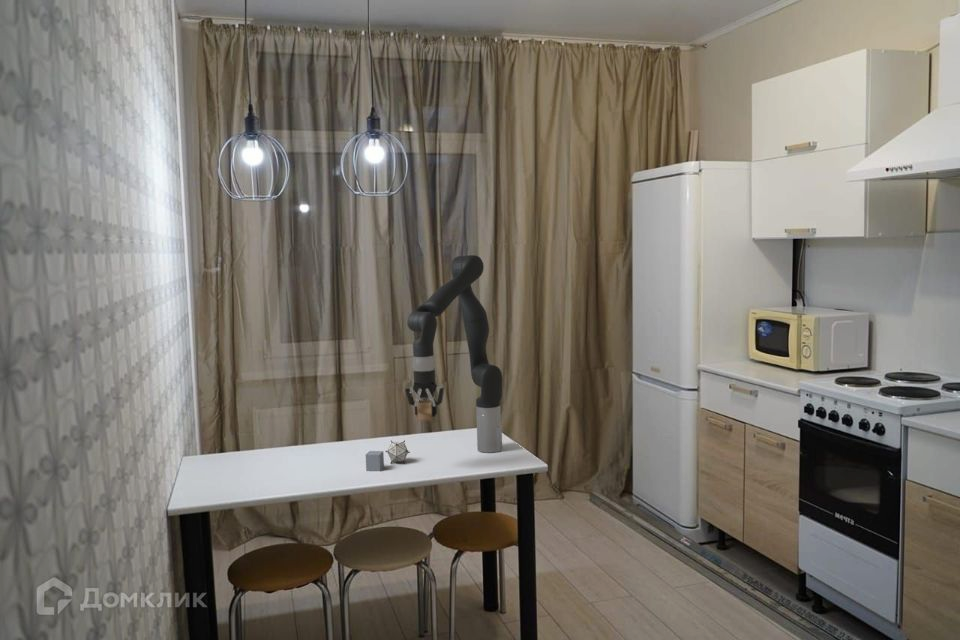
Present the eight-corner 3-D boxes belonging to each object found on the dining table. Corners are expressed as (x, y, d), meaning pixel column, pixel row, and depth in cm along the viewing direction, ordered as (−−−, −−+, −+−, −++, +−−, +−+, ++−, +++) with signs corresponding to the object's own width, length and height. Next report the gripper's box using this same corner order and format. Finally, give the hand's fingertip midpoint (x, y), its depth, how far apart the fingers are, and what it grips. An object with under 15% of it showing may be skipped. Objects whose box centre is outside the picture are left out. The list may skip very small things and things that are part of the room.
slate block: (384, 467, 271) (383, 451, 270) (379, 471, 266) (379, 454, 265) (370, 467, 272) (369, 450, 271) (366, 471, 267) (365, 454, 266)
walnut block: (434, 417, 267) (434, 400, 267) (431, 420, 262) (431, 403, 262) (421, 417, 268) (420, 400, 267) (417, 420, 263) (416, 403, 263)
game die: (402, 471, 279) (416, 447, 281) (399, 469, 270) (414, 444, 273) (382, 458, 280) (396, 435, 282) (378, 456, 272) (393, 432, 274)
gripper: (446, 366, 266) (448, 414, 268) (406, 367, 268) (409, 414, 270) (441, 370, 259) (443, 418, 260) (401, 370, 261) (403, 418, 263)
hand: (426, 416), depth 265 cm, fingers closed on walnut block, 5 cm apart
